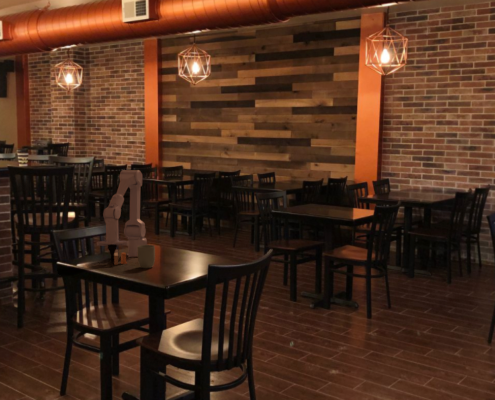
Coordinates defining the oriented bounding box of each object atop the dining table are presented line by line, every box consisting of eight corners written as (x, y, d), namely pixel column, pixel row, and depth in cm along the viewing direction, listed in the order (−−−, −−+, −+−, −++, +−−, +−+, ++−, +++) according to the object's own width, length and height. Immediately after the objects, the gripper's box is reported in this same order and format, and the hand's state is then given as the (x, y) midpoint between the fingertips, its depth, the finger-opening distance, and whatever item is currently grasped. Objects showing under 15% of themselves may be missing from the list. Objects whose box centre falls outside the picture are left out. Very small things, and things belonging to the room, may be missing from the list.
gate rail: (114, 260, 289) (114, 252, 289) (118, 260, 290) (117, 251, 289) (114, 264, 279) (114, 255, 278) (118, 264, 279) (118, 255, 279)
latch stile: (125, 262, 284) (125, 252, 283) (127, 263, 281) (126, 253, 281) (120, 262, 283) (120, 252, 283) (121, 264, 280) (121, 253, 280)
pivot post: (118, 259, 293) (118, 249, 292) (119, 260, 290) (119, 250, 290) (112, 259, 292) (112, 249, 291) (113, 260, 289) (113, 250, 289)
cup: (158, 266, 274) (157, 245, 273) (150, 269, 266) (149, 247, 266) (143, 265, 276) (142, 244, 275) (134, 268, 269) (134, 247, 268)
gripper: (95, 233, 276) (95, 262, 277) (126, 233, 277) (127, 261, 278) (97, 231, 283) (98, 259, 284) (128, 231, 284) (129, 259, 285)
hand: (112, 260), depth 281 cm, fingers closed, pressing on gate rail
